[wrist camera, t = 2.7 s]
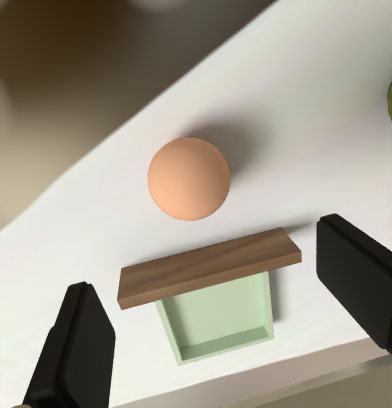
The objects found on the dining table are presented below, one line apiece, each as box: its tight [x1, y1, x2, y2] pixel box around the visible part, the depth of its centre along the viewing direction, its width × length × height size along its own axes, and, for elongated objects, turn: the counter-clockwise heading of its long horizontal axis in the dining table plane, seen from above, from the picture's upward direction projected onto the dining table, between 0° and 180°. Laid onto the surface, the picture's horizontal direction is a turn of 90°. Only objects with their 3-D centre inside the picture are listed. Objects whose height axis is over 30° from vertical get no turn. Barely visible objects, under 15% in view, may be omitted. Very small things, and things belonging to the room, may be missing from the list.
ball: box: [148, 137, 231, 221], centre depth 20 cm, size 6×6×6 cm
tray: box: [155, 271, 274, 366], centre depth 29 cm, size 11×11×2 cm
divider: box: [117, 228, 302, 310], centre depth 25 cm, size 1×16×4 cm, turn 101°
